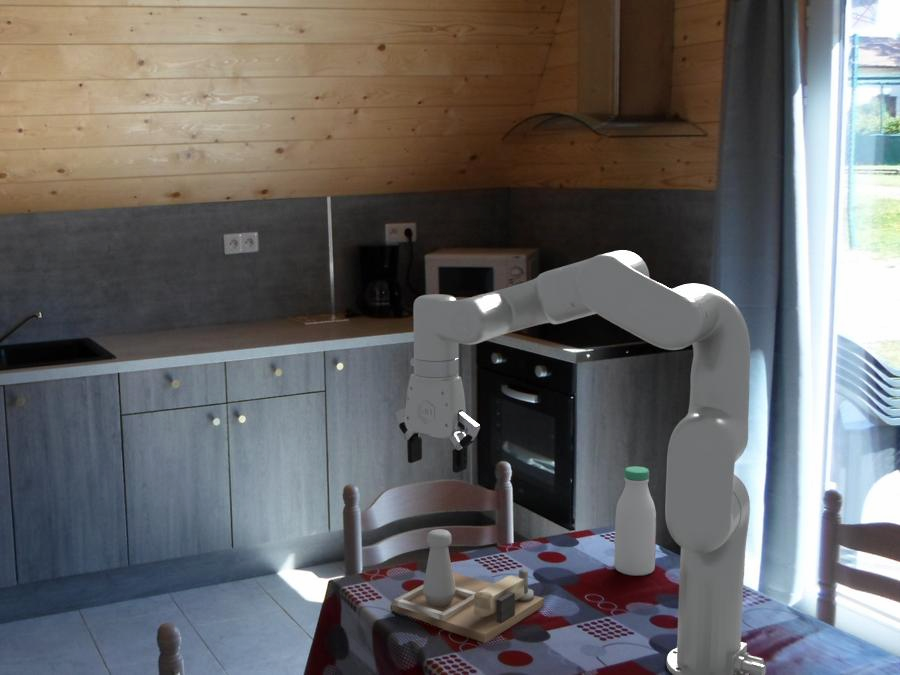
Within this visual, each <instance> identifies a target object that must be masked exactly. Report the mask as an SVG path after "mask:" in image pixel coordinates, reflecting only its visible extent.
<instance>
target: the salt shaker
mask: <svg viewBox="0 0 900 675" xmlns="http://www.w3.org/2000/svg"><path fill="white" fill-rule="evenodd" d="M426 544H427V545H428V546H429V553H428V558H427V563H426V570H425V574H424V581H423V584H424V585H423V584H422V585H423V594H424V596H425V598H426V600H427V603H428V604H430V605H432V606H433V607H445V606H447V605H449V604H451V602H452V600H453V597H454V595H455V590H456V587H455V581H454V576H453V573H454V571H453V566H452V562H451V558H450V557H451V556H450V552H449V546H451V544H452V534H451V532H450V531H449V530H446V529H443V528H440V529H433V530H430V531H429V532H428V533H427V535H426Z"/></svg>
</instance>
